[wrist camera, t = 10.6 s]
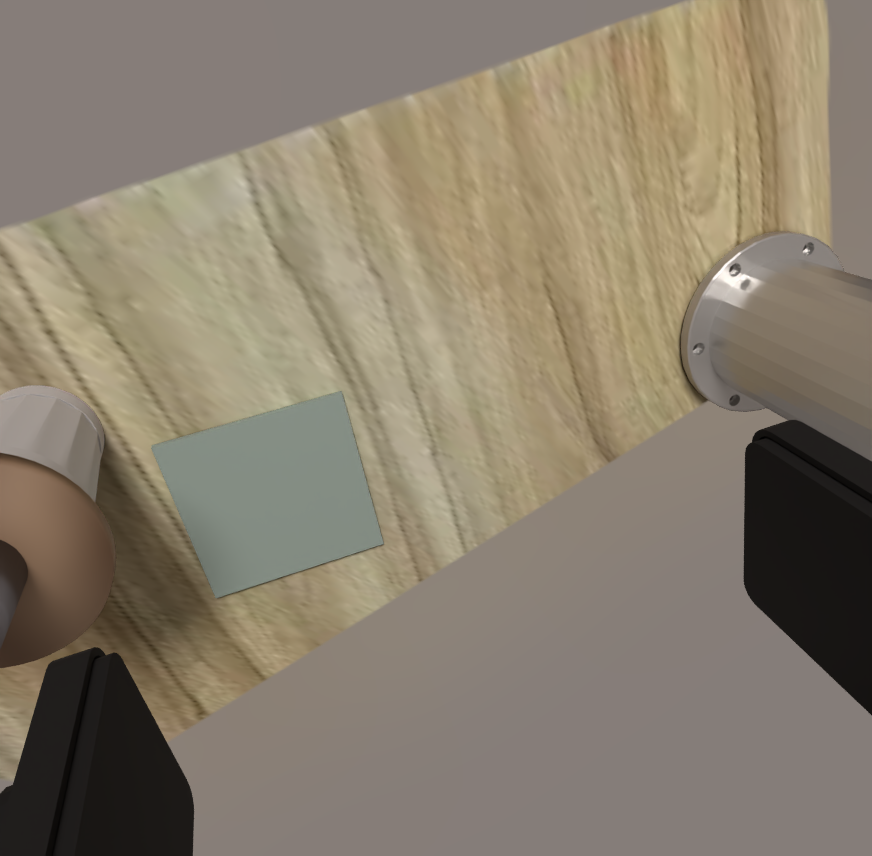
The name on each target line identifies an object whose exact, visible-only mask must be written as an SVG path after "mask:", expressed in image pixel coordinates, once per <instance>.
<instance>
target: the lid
mask: <svg viewBox="0 0 872 856" xmlns="http://www.w3.org/2000/svg"><path fill="white" fill-rule="evenodd" d="M115 565H116V548H115V542H114V538H113V534H112V531H111V528H110V526H109V524H108V521H107V519H106V518H105V516H104V514H103V513H102V511H101V509H100V508H99V507H98V505H97V504H96V503H95V502H94V501H93V499H92V498H91V497H90V496H89V495H88V494H87V493H86V492H85V491H84V490H83V489H82V488H80V487H79V486H78V485H77V484H75V483H74V482H73V481H71V480H70V479H68V478H67V477H66V476H64V475H62V474H60V473H59V472H57V471H55V470H53V469H51V468H49V467H47V466H45V465H42V464H40V463H38V462H35V461H32V460H29V459H26V458H22V457H19V456H15V455H10V454H5V453H0V668H5V667H10V666H16V665H21V664H24V663H28V662H31V661H35V660H37V659H40V658H43V657H45V656H48V655H50V654H52V653H54V652H56V651H58V650H60V649H62V648H64V647H65V646H67V645H68V644H70V643H71V642H73V641H74V640H76V639H77V638H78V637H79V636H80V635H81V634H83V633H84V632H85V631H86V630H87V629H88V628H89V627H90V626H91V625H92V623H93V622H94V621H95V620H96V619H97V617H98V616H99V614H100V613H101V611H102V610H103V608H104V606H105V604H106V601H107V599H108V597H109V594H110V590H111V587H112V582H113V578H114V573H115Z"/></svg>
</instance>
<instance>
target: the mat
mask: <svg viewBox="0 0 872 856" xmlns="http://www.w3.org/2000/svg"><path fill="white" fill-rule="evenodd" d="M151 449H152V451H153V453H154V456H155V458H156V460H157V463H158V465H159V467H160V470H161V472H162V474H163V477H164V479H165V481H166V484H167V486H168V488H169V491H170V493H171V495H172V498H173V500H174V502H175V505H176V507H177V509H178V512H179V514H180V516H181V519H182V521H183V523H184V526H185V528H186V530H187V532H188V535H189V537H190V539H191V542H192V544H193V546H194V549H195V551H196V553H197V556H198V558H199V560H200V563H201V565H202V567H203V570H204V572H205V574H206V577H207V579H208V581H209V584H210V586H211V588H212V591H213V593H214V595H215V598H218V597H222V596H225V595H228V594H231V593H234V592H237V591H240V590H243V589H246V588H249V587H252V586H255V585H258V584H262V583H265V582H268V581H271V580H274V579H277V578H280V577H283V576H286V575H289V574H292V573H295V572H298V571H302V570H305V569H308V568H311V567H314V566H317V565H320V564H323V563H326V562H329V561H332V560H335V559H339V558H342V557H345V556H348V555H351V554H354V553H357V552H360V551H363V550H366V549H369V548H372V547H375V546H379V545H382V544H384V543H383V540H382V536H381V532H380V529H379V525H378V521H377V518H376V514H375V511H374V507H373V503H372V500H371V496H370V493H369V489H368V485H367V482H366V478H365V475H364V471H363V467H362V464H361V460H360V456H359V453H358V449H357V446H356V442H355V438H354V435H353V431H352V428H351V424H350V420H349V417H348V413H347V409H346V406H345V402H344V399H343V395H342V392H341V391H339V392H336V393H333V394H329V395H326V396H322V397H319V398H315V399H312V400H308V401H305V402H301V403H298V404H294V405H291V406H287V407H284V408H280V409H277V410H273V411H270V412H267V413H263V414H260V415H256V416H253V417H249V418H246V419H242V420H239V421H235V422H232V423H228V424H225V425H221V426H218V427H214V428H211V429H207V430H204V431H201V432H197V433H194V434H190V435H187V436H183V437H180V438H176V439H173V440H169V441H166V442H162V443H159V444H155V445H152V448H151Z"/></svg>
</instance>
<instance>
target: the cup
mask: <svg viewBox="0 0 872 856" xmlns="http://www.w3.org/2000/svg"><path fill="white" fill-rule="evenodd" d="M103 449H104V432H103V428H102V425H101V423H100V420H99V419H98V417H97V415H96V414H95V412H94V411H93V410H92V409H91V408H90V407H89V406H88V405H87V404H86V403H85V402H84V401H82V400H81V399H80V398H78V397H77V396H75V395H73V394H71V393H69V392H67V391H64V390H61V389H58V388H54V387H49V386H38V385H36V386H24V387H19V388H16V389H13V390H10V391H8V392H6V393H4V394H2V395H0V453H5V454H10V455H15V456H19V457H22V458H26V459H29V460H32V461H35V462H38V463H40V464H42V465H45V466H47V467H49V468H51V469H53V470H55V471H57V472H59V473H60V474H62V475H64V476H66V477H67V478H68V479H70V480H71V481H73V482H74V483H75V484H77V485H78V486H79V487H80V488H82V489H83V490H84V491H85V492H86V493H87V494H88V495H89V496H90V497H91V498H92V499H93V501H94V502H95V501H96V493H97V485H98V477H99V469H100V461H101V456H102V453H103Z"/></svg>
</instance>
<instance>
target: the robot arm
mask: <svg viewBox="0 0 872 856" xmlns="http://www.w3.org/2000/svg"><path fill="white" fill-rule="evenodd" d="M681 355H682V361H683V366H684V369H685V372H686V374H687V376H688V379H689V381H690V382H691V384H692V385H693V386H694V388H695V389H696V390H697V391H698V392H699V393H700V394H701V395H702V396H704V397H705V398H706V399H707V400H709V401H711V402H713V403H715V404H716V405H718V406H719V407H722V408H725V409H728V410H731V411H743V412H747V411H755V410H761V409H764V408H768V409H770V410H771V411H773V412H775V413H777V414H778V415H780V416H782V417H784V418H785V419H787V420H789V421H786V422H783V423H780V424H776V425H773V426H770V427H767V428H764V429H761V430H759V431H757V432H756V433H755V435H754V436H753V440H752V443H750V444H749V445H748V446H747V448H746V452H745V513H744V518H745V519H744V585H745V588H746V591H747V593H748V595H749V596H750V598H751V600H752V601H753V602H754V604H755V605H756V606H757V607H758V608H760V609H761V610H762V611H763V612H764V613H765V614H766V615H767V616H768V617H769V618H770V619H771V620H772V621H773V622H774V623H775V624H776V625H777V626H778V627H779V628H781V629H782V630H783V631H784V632H785V633H786V634H787V635H788V636H789V637H790V638H791V639H792V640H793V641H794V642H795V643H796V644H797V645H798V646H799V647H800V648H802V649H803V650H804V651H805V652H806V653H807V654H808V655H809V656H810V657H811V658H812V659H813V660H814V661H815V662H816V663H817V664H818V665H820V666H821V667H822V668H823V669H824V670H825V671H826V672H827V673H828V674H829V675H830V676H831V677H832V678H833V679H834V680H835V681H836V682H837V683H838V684H839V685H841V687H843V688H844V689H845V690H846V691H847V692H848V693H849V694H850V695H851V696H852V697H853V698H854V699H855V700H856V701H857V702H858V703H859V704H861V706H863V707H864V708H865V709H866V710H867V711H868V712H869V713H870V714H871V715H872V280H871V279H867V278H864V277H860V276H857V275H854V274H850V273H847V272H844V268H843V266H842V264H841V262H840V260H839V258H838V257H837V255H836V254H835V253H834V252H833V251H832V250H831V248H830V247H829V246H828V245H826V244H825V243H823V242H821V241H820V240H818V239H817V238H814V237H811V236H808V235H804V234H801V233H795V232H789V231H780V232H770V233H766V234H763V235H759V236H756V237H753V238H751V239H749V240H747V241H745V242H743V243H741V244H739V245H738V246H737V247H735V248H734V249H733V250H731V251H730V252H728V253H727V254H726V255H724V256H723V257H722V258H721V259H720V260H719V261H718V262H717V263H716V264H715V265H714V266H713V267H712V268H711V270H710V271H709V272H708V274H707V275H706V276H705V278H704V279H703V280H702V282H701V283H700V284H699V286H698V288H697V290H696V292H695V294H694V296H693V297H692V299H691V301H690V304H689V307H688V309H687V312H686V315H685V318H684V323H683V328H682V333H681ZM193 827H194V804H193V797H192V793H191V789H190V786H189V784H188V782H187V779H186V777H185V776H184V774H183V772H182V770H181V768H180V766H179V764H178V763H177V761H176V759H175V757H174V755H173V753H172V751H171V749H170V748H169V746H168V744H167V742H166V740H165V738H164V736H163V734H162V733H161V731H160V729H159V727H158V725H157V723H156V721H155V719H154V718H153V716H152V714H151V712H150V710H149V708H148V706H147V705H146V703H145V701H144V699H143V697H142V695H141V693H140V692H139V690H138V688H137V686H136V684H135V682H134V680H133V678H132V677H131V675H130V673H129V671H128V669H127V667H126V665H125V664H124V662H123V660H122V658H121V657H120V655H118V654H117V653H112V654H109V655H105V654H104V652H103V651H102V650H101V649H100V648H96V647H94V648H91V649H88V650H85V651H82V652H79V653H76V654H73V655H70V656H67V657H64V658H61V659H58V660H55V661H52V662H51V663H50V664H49V665H48V667H47V669H46V672H45V676H44V679H43V683H42V686H41V690H40V693H39V697H38V700H37V703H36V707H35V710H34V714H33V717H32V721H31V724H30V728H29V731H28V734H27V738H26V741H25V745H24V748H23V752H22V755H21V759H20V762H19V765H18V769H17V772H16V776H15V779H14V783H13V785H11V786H9V787H6V788H5V789H4V791H2V793H1V794H0V856H193Z"/></svg>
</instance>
